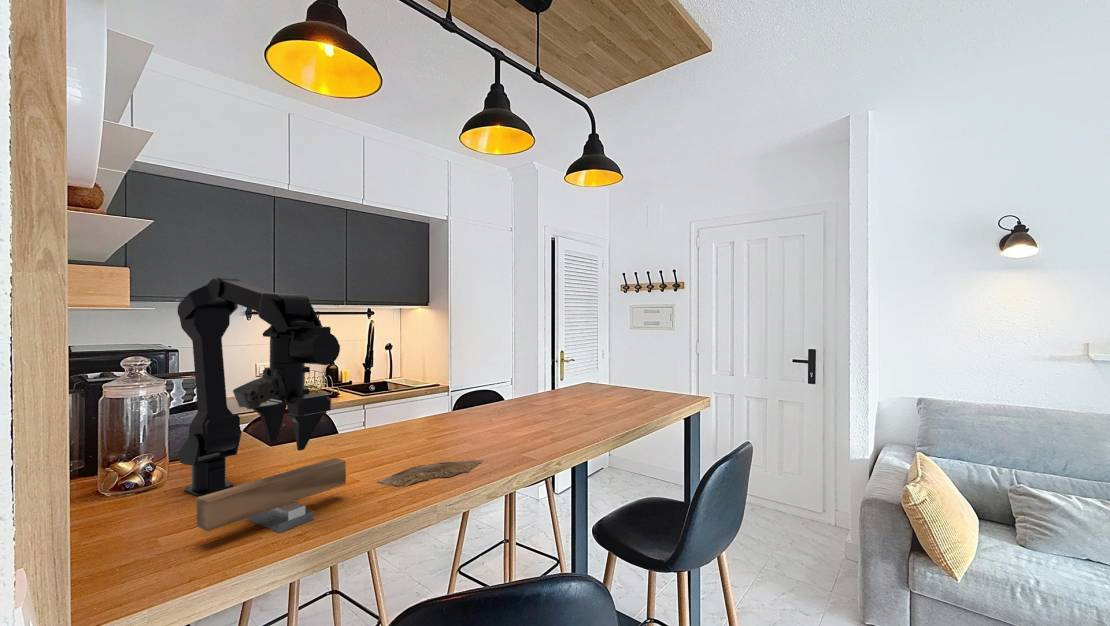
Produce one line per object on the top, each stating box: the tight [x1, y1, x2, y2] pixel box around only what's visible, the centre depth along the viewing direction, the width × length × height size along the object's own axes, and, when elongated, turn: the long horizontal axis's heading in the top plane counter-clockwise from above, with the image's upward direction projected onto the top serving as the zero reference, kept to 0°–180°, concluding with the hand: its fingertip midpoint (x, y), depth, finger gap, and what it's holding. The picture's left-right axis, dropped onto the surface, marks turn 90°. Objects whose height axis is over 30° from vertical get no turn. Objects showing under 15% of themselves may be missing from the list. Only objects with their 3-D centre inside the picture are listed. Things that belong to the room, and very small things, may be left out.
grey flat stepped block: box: [246, 501, 314, 534], centre depth 86 cm, size 10×6×3 cm, turn 60°
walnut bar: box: [196, 457, 347, 532], centre depth 86 cm, size 4×24×4 cm, turn 150°
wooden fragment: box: [376, 459, 484, 488], centre depth 112 cm, size 26×11×1 cm, turn 126°
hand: (286, 446), depth 91 cm, fingers open, 9 cm apart
